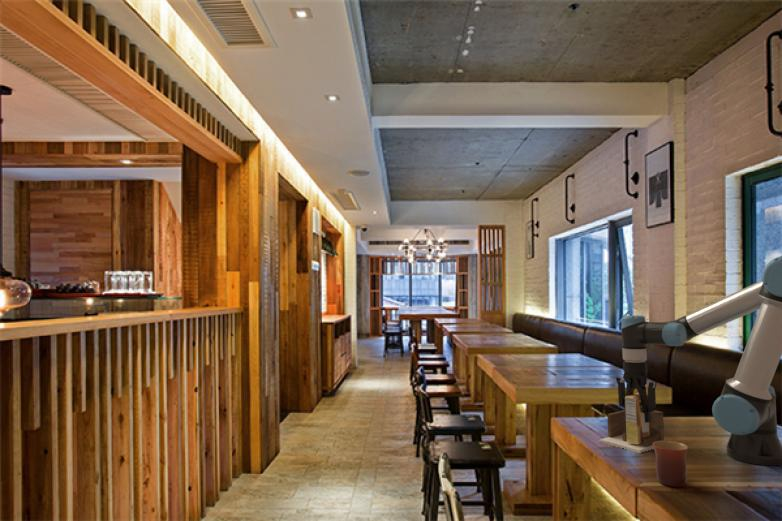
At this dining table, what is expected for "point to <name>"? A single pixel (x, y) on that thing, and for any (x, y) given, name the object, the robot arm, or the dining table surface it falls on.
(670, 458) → the mug
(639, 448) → the shelf board
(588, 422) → the dining table surface
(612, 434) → the dark wooden panel
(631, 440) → the candy box
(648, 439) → the bookend
